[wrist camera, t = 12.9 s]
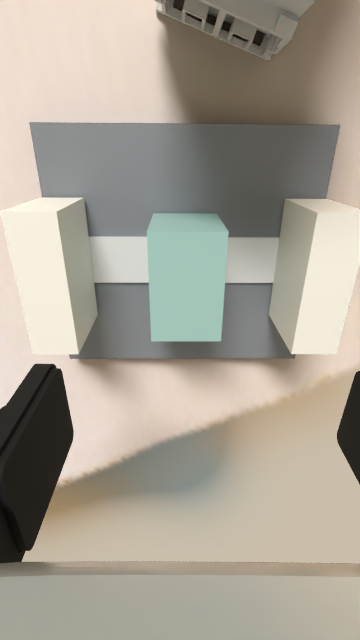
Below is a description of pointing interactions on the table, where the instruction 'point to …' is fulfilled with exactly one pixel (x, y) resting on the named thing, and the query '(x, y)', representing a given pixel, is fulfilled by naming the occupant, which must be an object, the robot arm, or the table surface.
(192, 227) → the block
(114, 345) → the rail board
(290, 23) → the circuit breaker
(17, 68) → the table surface
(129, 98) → the table surface
